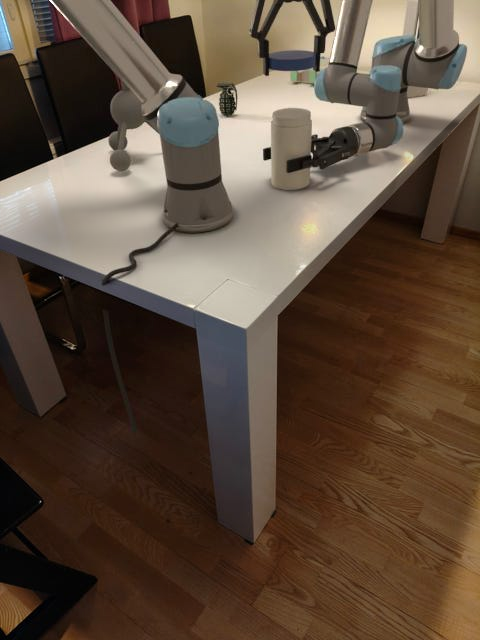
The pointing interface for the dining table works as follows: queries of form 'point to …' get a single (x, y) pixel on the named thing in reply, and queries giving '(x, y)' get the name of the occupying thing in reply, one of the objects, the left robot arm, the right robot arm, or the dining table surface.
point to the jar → (290, 146)
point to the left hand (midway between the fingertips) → (291, 72)
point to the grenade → (227, 99)
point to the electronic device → (410, 29)
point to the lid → (292, 60)
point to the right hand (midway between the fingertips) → (275, 160)
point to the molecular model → (124, 125)
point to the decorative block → (309, 72)
